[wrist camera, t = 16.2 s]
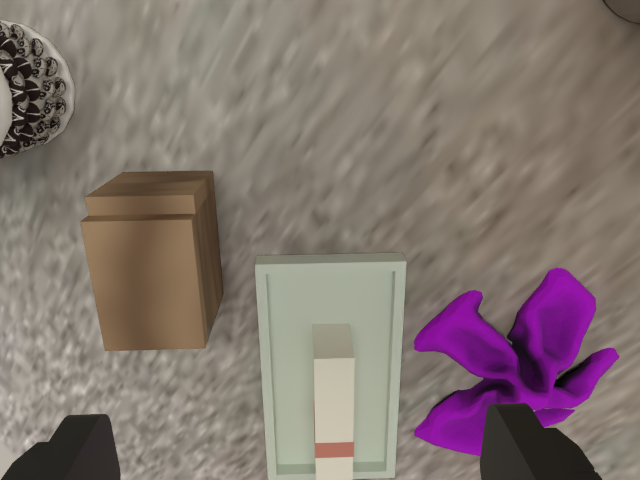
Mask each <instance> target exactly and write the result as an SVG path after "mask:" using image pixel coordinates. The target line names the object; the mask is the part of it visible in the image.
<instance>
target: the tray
mask: <svg viewBox="0 0 640 480" xmlns="http://www.w3.org/2000/svg"><path fill="white" fill-rule="evenodd" d="M406 262H407V261H406V259H405V257H404V255H403V253H361V254H314V255H268V256H257V257H256V261H255V277H256V294H257V310H258V326H259V342H260V358H261V374H262V390H263V406H264V422H265V439H266V455H267V471H268V480H316V469H315V439H314V368H313V324H342V323H349V327H350V333H351V339H352V345H353V351H354V357H355V369H354V431H353V439H354V457H353V479H371V478H395V461H396V443H397V425H398V407H399V389H400V370H401V352H402V334H403V316H404V298H405V280H406Z"/></svg>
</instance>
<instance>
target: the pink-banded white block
mask: <svg viewBox="0 0 640 480" xmlns="http://www.w3.org/2000/svg"><path fill="white" fill-rule="evenodd" d="M313 368H314V439H315V469H316V480H353V457H354V439H353V431H354V369H355V357H354V351H353V345H352V339H351V333H350V327H349V323H342V324H313Z"/></svg>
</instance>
